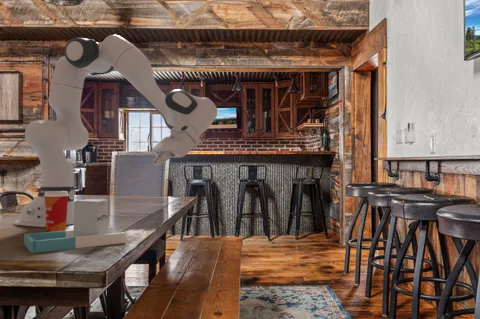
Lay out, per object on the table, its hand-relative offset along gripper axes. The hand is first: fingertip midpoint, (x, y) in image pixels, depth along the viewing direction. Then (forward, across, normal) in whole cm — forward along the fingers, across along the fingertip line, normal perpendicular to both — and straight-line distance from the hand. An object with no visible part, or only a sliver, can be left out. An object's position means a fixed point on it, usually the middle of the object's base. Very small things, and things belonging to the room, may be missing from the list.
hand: (156, 164), depth 133 cm
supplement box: (+31, 0, +2) cm, 31 cm away
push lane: (+34, 0, -1) cm, 34 cm away
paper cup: (+35, -19, -2) cm, 40 cm away
